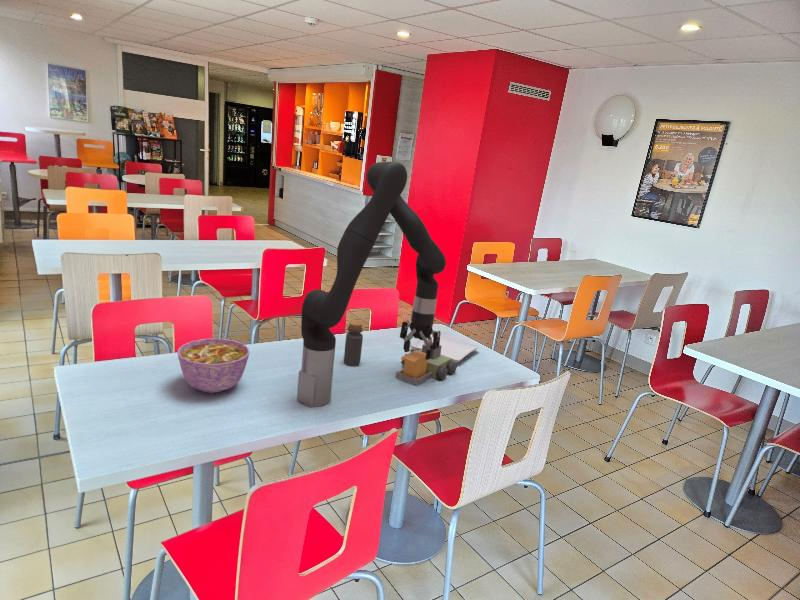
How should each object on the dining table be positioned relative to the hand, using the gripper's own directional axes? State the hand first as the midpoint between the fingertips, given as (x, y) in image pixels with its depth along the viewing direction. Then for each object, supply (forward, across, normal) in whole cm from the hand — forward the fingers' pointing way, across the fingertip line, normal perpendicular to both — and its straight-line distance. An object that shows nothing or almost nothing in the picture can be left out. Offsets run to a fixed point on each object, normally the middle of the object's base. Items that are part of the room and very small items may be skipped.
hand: (417, 355), depth 180 cm
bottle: (+9, -22, -6) cm, 25 cm away
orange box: (+8, 0, -1) cm, 8 cm away
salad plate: (+8, -5, +31) cm, 32 cm away
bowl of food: (+10, -38, -52) cm, 65 cm away
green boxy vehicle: (+8, 0, +6) cm, 10 cm away
